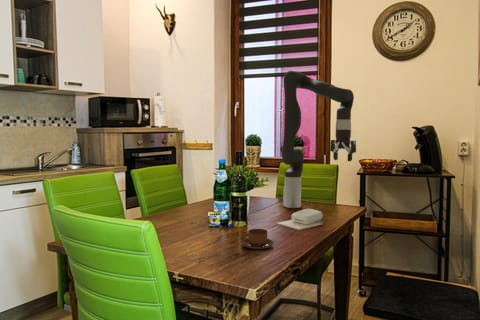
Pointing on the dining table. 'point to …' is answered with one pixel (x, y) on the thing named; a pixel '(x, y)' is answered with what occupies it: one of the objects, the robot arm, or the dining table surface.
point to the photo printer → (307, 216)
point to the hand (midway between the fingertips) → (342, 160)
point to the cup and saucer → (257, 239)
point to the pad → (299, 224)
